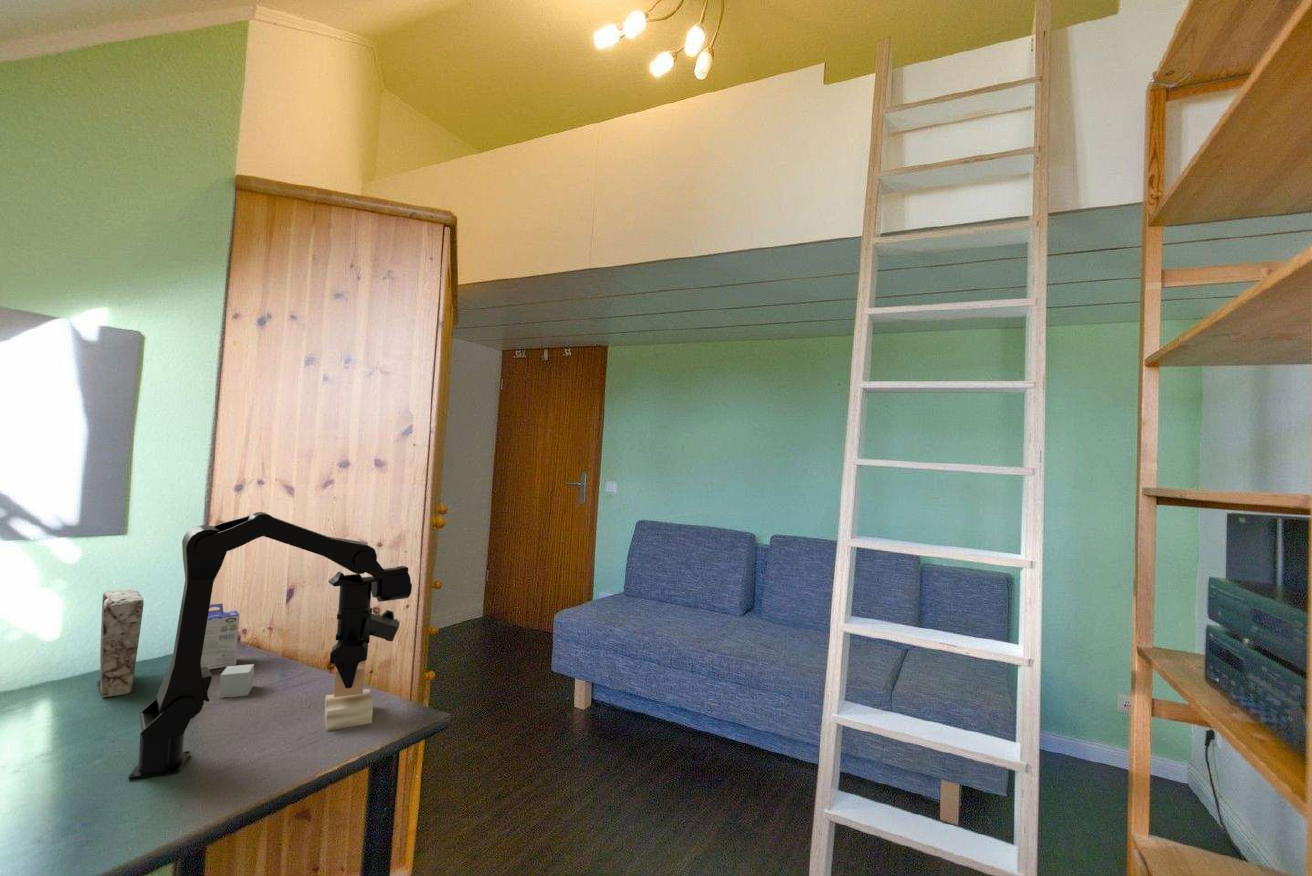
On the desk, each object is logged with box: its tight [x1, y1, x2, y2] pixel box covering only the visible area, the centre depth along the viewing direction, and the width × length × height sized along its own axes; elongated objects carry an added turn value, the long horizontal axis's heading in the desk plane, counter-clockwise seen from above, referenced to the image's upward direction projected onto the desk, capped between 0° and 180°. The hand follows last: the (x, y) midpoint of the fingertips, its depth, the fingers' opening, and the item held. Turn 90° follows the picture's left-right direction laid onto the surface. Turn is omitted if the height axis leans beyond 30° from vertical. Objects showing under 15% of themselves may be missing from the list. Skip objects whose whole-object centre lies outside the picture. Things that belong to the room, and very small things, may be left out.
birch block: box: [324, 688, 374, 732], centre depth 117 cm, size 8×8×4 cm
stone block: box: [96, 589, 145, 698], centre depth 125 cm, size 13×7×20 cm, turn 52°
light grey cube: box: [218, 663, 255, 699], centre depth 126 cm, size 5×5×5 cm
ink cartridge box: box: [201, 603, 240, 671], centre depth 139 cm, size 10×6×14 cm, turn 133°
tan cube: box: [333, 660, 367, 697], centre depth 117 cm, size 5×5×5 cm
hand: (349, 682), depth 117 cm, fingers closed on tan cube, 5 cm apart
